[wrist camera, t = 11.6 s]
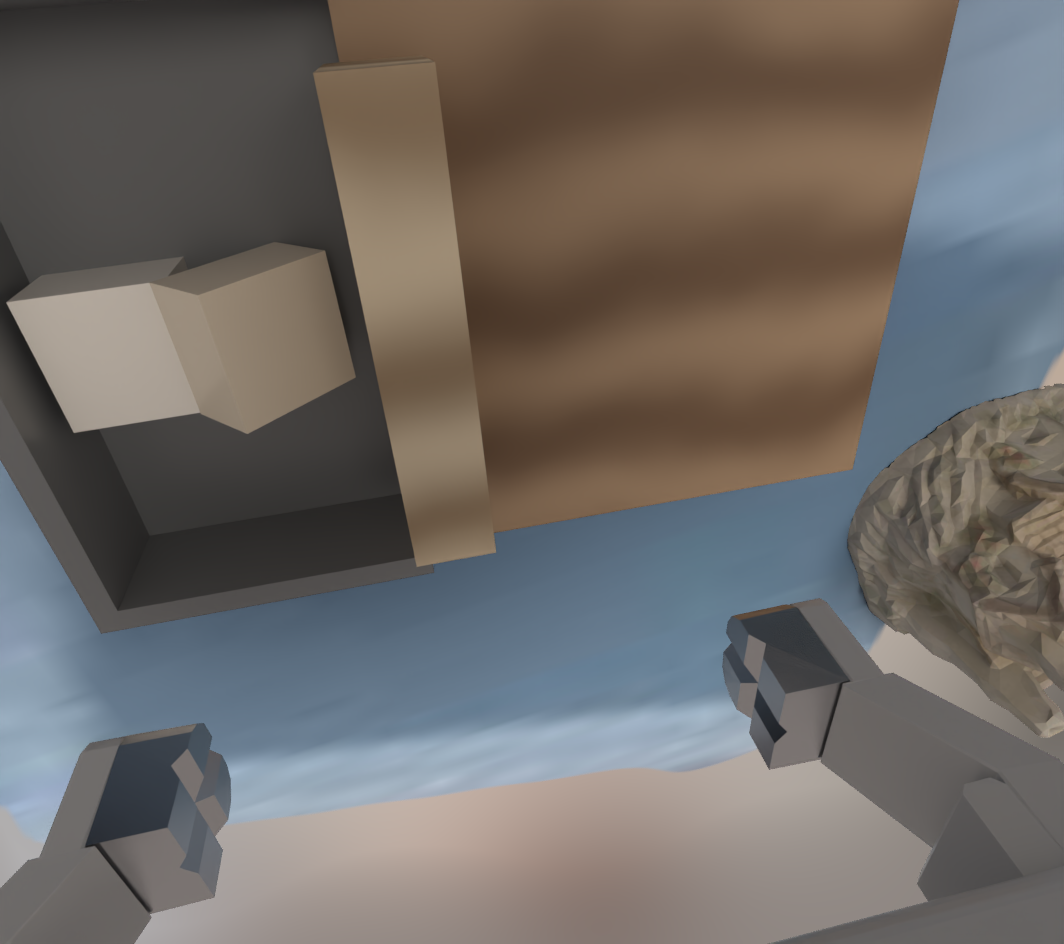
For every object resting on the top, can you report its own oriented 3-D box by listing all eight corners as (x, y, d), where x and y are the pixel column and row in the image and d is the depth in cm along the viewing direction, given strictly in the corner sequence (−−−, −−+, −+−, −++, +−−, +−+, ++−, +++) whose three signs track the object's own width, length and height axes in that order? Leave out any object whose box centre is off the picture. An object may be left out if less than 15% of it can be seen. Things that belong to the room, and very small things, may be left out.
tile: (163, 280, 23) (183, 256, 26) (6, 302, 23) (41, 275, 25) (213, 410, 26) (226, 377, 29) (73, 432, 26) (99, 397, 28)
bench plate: (323, -49, 23) (316, -62, 19) (902, -86, 25) (982, -103, 22) (424, 495, 35) (430, 544, 32) (809, 430, 38) (852, 469, 34)
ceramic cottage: (858, 641, 48) (1045, 839, 36) (832, 457, 40) (1067, 633, 27) (1055, 547, 49) (1309, 709, 36) (1072, 345, 40) (1415, 465, 27)
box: (-133, -20, 21) (-287, -34, 16) (323, -49, 23) (311, -70, 18) (140, 542, 33) (101, 633, 28) (424, 495, 35) (434, 572, 30)
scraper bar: (323, 64, 21) (313, 73, 17) (421, 55, 21) (434, 62, 17) (409, 492, 30) (416, 566, 26) (478, 480, 30) (496, 552, 26)
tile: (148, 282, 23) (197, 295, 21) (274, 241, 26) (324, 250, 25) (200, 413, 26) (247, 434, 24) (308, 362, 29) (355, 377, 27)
